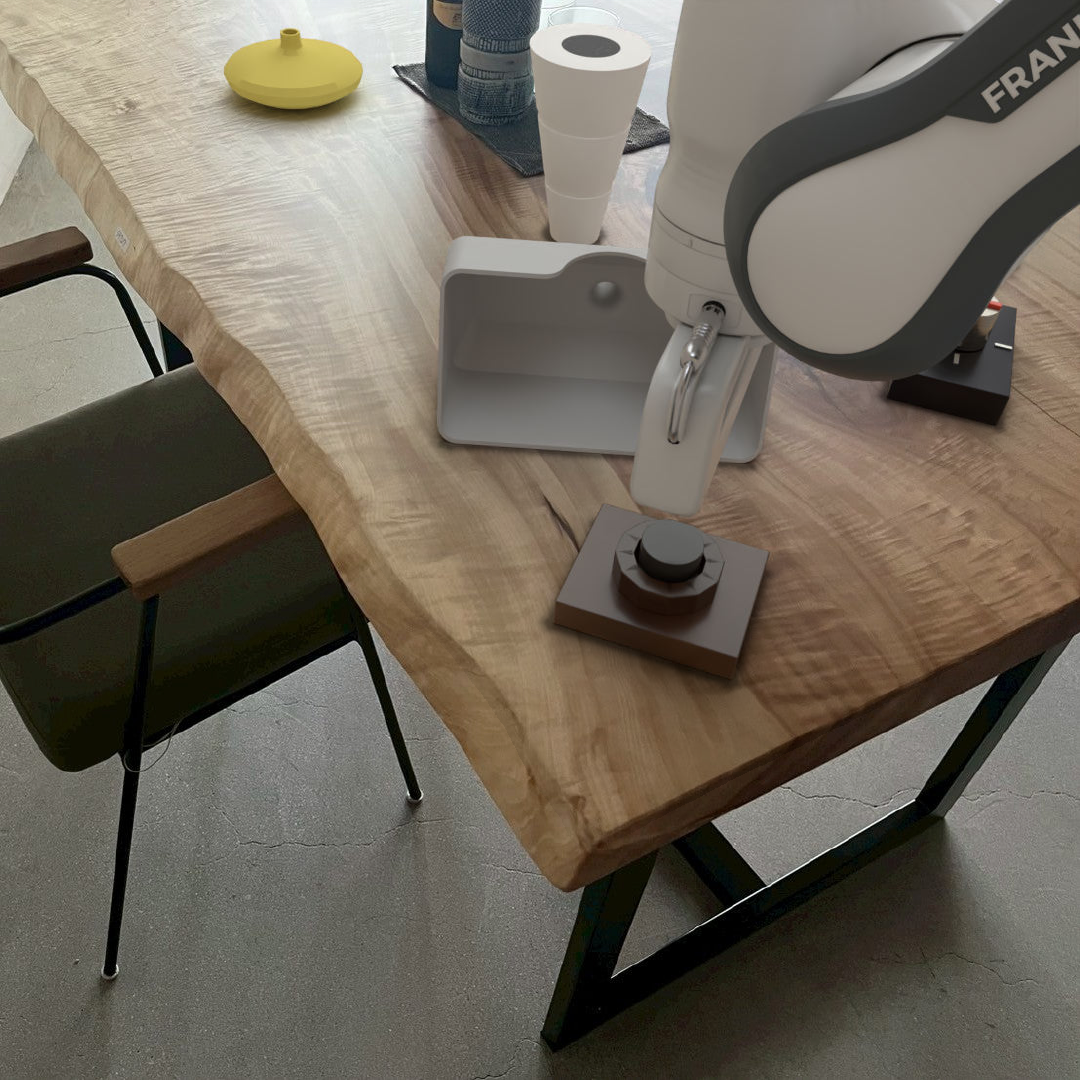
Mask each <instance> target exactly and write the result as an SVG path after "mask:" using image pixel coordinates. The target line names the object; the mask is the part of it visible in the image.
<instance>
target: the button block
mask: <svg viewBox="0 0 1080 1080" xmlns="http://www.w3.org/2000/svg"><path fill="white" fill-rule="evenodd" d="M665 520H672V521H677V520H676V519H671V518H663V519H662V518H661V519H660V518H656V517H653V516H649V515H646V514H643V513H639V512H636V511H633V510H630V509H625V508H623V507H619V506H615V505H611V504H608V503H605V502H603V503H601V505H600V508H599V510H598V512H597V514H596V516H595V519H594V521H593V522H592V525H591V527H590V529H589V530H588V533H587V534H586V537H585V539H584V541H583V543H582V545H581V547H580V550H579V551H578V554H577V555H576V558H575V559H574V562H573V564H572V566H571V568H570V570H569V572H568V574H567V576H566V578H565V580H564V583H563V584H562V587H561V588H560V590H559V592H558V595H557V596H556V599H555V602H554V610H553V611H554V612H553V623H554V624H556V625H559V626H562V627H565V628H567V629H568V628H569V629H570V630H571V629H572V630H575V631H578V632H580V633H583V634H588V635H589V636H594V637H597V638H599V639H603V640H606V641H608V642H609V641H610V642H612V643H615V644H618V645H622V646H625V647H628V648H631V649H635V650H637V651H640V652H644V653H646V654H650V655H653V656H656V657H658V658H663V659H666V660H669V661H672V662H675V663H678V664H681V665H684V666H687V667H691V668H693V669H697V670H700V671H703V672H706V673H709V674H713V675H714V676H718V677H721V678H725V679H729V680H733V677H734V674H735V672H736V671H735V670H736V667H737V663H738V661H739V659H740V654H741V651H742V648H743V643H744V641H745V637H746V634H747V631H748V627H749V624H750V621H751V617H752V614H753V610H754V607H755V604H756V602H757V601H756V600H757V597H758V593H759V590H760V587H761V583H762V581H763V577H764V573H765V571H766V567H767V564H768V560H769V558H770V553H771V552H770V550H766V549H763V548H759V547H756V546H753V545H749V544H746V543H743V542H739V541H735V540H732V539H728V538H726V537H722V536H718V535H714V534H712V533H708V532H704V531H703V530H702V529H701V528H699V527H698V526H696V525H693V524H689V523H686V522H682V521H681V522H682V523H685V524H687V525H689V526H691V527H693V528H694V529H695V530H696V531H697V532H698V533H699V534H700V535H701V537H702V539H703V542H704V551H703V555H702V559H701V563H700V567H699V570H698V572H697V573H696V575H695V576H694V577H692V578H691V579H689V580H687V581H685V582H681V583H666V582H663V581H659V580H656V579H654V578H652V577H650V576H649V575H648V574H647V573H646V572H645V571H644V570H643V569H642V567H641V566H640V563H639V551H640V545H641V539H642V535H643V533H644V531H645V530H646V528H648V527H649V526H650V525H651V524H653V523H656V522H659V521H665Z"/></svg>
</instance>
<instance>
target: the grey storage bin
mask: <svg viewBox="0 0 1080 1080" xmlns="http://www.w3.org/2000/svg"><path fill="white" fill-rule="evenodd" d="M647 251H648V248H642V247H629V246H613V245H599V244H590V245H588V244H574V243H560V242H557V241H543V240H529V239H516V238H515V239H514V238H504V237H489V236H488V237H487V236H474V235H473V236H472V235H462V236H458V237H457V238H454V239H453V240H452V241H451V242H450V244H449V245H448V247H447V252H446V256H445V262H444V267H443V271H442V272H443V273H442V277H441V281H440V286H439V312H438V313H439V314H438V315H439V317H438V318H439V319H438V320H439V321H438V352H437V353H438V356H437V358H438V360H437V394H436V395H437V396H436V397H437V398H436V426H437V431H438V432H439V435H441V437H442V438H443V439H444V440H446V441H447V442H450V443H452V444H459V445H471V446H473V445H475V446H487V447H503V448H516V449H518V448H519V449H529V450H530V449H532V450H545V451H558V452H559V451H561V452H572V453H573V452H574V453H575V452H576V453H590V454H605V455H617V456H618V455H619V456H631V457H633V456H634V457H635V452H636V446H637V441H638V436H639V430H640V425H641V420H642V415H643V410H644V406H645V402H646V398H647V394H648V391H649V387H650V384H651V381H652V378H653V375H654V372H655V370H656V367H657V365H658V363H659V361H660V359H661V357H662V355H663V353H664V351H665V349H666V347H667V345H668V343H669V341H670V339H671V337H672V335H673V333H674V331H675V329H674V328H673V327H672V326H671V325H670V324H669V322H668V321H667V319H666V316H665V312H664V311H663V310H662V309H661V308H660V307H659V306H658V305H656V304H655V302H654V301H653V300H652V299H651V297H650V296H649V294H648V292H647V290H646V287H645V283H644V275H645V267H646V259H647ZM779 352H780V347H779V346H777V345H776V344H775V343H774V342H771V343H769V344H767V345H764V346H763V348H762V350H761V353H760V356H759V358H758V361H757V363H756V366H755V369H754V371H753V374H752V376H751V379H750V382H749V384H748V387H747V390H746V392H745V395H744V397H743V400H742V403H741V405H740V408H739V410H738V413H737V416H736V418H735V421H734V424H733V426H732V429H731V431H730V434H729V437H728V439H727V442H726V444H725V447H724V450H723V452H722V455H721V457H720V460H719V463H731V464H732V463H734V464H744V463H749V462H751V461H753V460H754V459H756V458H757V457H758V456H759V454H761V451H762V449H763V447H764V440H765V435H766V428H767V423H768V417H769V411H770V406H771V399H772V393H773V387H774V381H775V376H776V369H777V364H778V357H779Z"/></svg>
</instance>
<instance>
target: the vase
mask: <svg viewBox="0 0 1080 1080" xmlns="http://www.w3.org/2000/svg"><path fill="white" fill-rule="evenodd" d="M363 68H364V67H363V64H362V62H361V61H360V60H359V58H357V57H356V55H354V53H353V52H352V51H351V50H349V49H347V48H346V47H344V46H342V45H340V44H336V43H334V42H331V41H326V40H321V39H317V38H304V37H301V31H300V30H299V29H298V28H293V27H287V28H283V29H281V30H279V38H272V39H266V40H261V41H258V42H254V43H250V44H248V45H245V46H242V47H241V48H239V49H237V50H236V51H235V52H233V53H232V55H230V57H229V59H228V60H227V61H226V63H225V65H224V66H223V75H224V77H225V79H226V81H227V83H228V86H229V87H230V88H231V90H232V91H233V92H235V93H236V94H238V95H239V96H240V97H242V98H244V99H246V100H250V101H252V102H255V103H257V104H260V105H264V106H267V107H272V108H277V109H285V110H305V109H312V108H313V109H314V108H318V107H322V106H326V105H329V104H332V103H333V102H336V101H338V100H340V99H343V98H344V97H347V96H349V95H351V94H352V93H353V92H355V90H356V89H358V87H359V85H360V83H361V81H362V78H363V73H364V69H363Z"/></svg>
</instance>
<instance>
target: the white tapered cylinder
mask: <svg viewBox="0 0 1080 1080" xmlns="http://www.w3.org/2000/svg"><path fill="white" fill-rule="evenodd" d="M529 47H530V48H529V49H530V58H531V68H532V76H533V86H534V96H535V105H536V110H537V121H538V123H537V124H538V131H539V140H540V149H541V158H542V159H541V160H542V167H543V174H544V187H545V196H546V205H547V206H546V207H547V215H548V216H547V217H548V223H549V224H548V225H549V235H550V236H551V237H550V238H552V239H553V240H554V242H560V243H574V244H588V245H593V244H595V243H596V242H597V241H598V239H599V236H600V233H601V230H602V226H603V223H604V219H605V215H606V212H607V209H608V206H609V202H610V198H611V195H612V191H613V188H614V182H615V180H616V178H617V174H618V170H619V167H620V164H621V161H622V157H623V153H624V150H625V146H626V143H627V140H628V136H629V133H630V130H631V127H632V119H633V118H634V116H635V113H636V110H637V106H638V102H639V99H640V96H641V93H642V90H643V86H644V82H645V79H646V75H647V73H648V69H649V65H650V61H651V58H652V54H653V48H652V46H651V45H650V43H649V42H648V41H647V40H646V39H645V38H644V37H642V36H640V35H638V34H636V33H634V32H632V31H629V30H626V29H623V28H621V27H616V26H612V25H607V24H600V23H587V22H569V23H561V24H554V25H550V26H548V27H547V26H546V27H544V28H542V29H540V30H537V32H535V33H534V34H532V36H531V37H530V40H529Z"/></svg>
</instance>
